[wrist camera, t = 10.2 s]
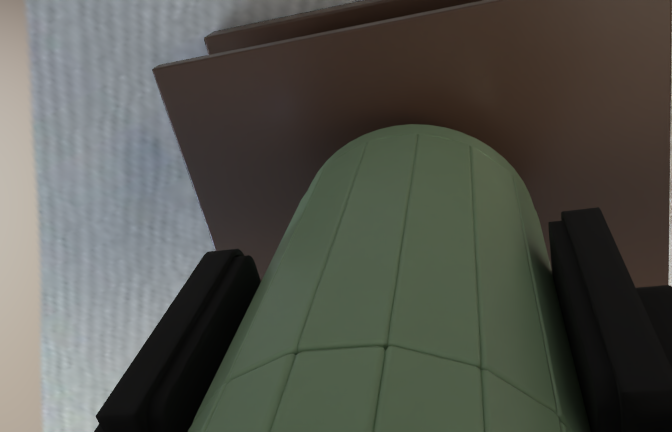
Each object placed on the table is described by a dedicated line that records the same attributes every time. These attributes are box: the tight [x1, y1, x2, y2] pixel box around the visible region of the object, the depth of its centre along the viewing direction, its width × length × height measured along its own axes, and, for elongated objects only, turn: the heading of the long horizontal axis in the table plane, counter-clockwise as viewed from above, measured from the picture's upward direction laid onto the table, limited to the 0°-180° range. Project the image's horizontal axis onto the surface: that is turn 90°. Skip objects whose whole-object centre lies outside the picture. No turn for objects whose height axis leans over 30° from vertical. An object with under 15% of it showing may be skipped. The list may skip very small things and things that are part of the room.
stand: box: [152, 0, 672, 288], centre depth 16 cm, size 8×10×4 cm
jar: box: [188, 124, 591, 432], centre depth 9 cm, size 5×5×8 cm
